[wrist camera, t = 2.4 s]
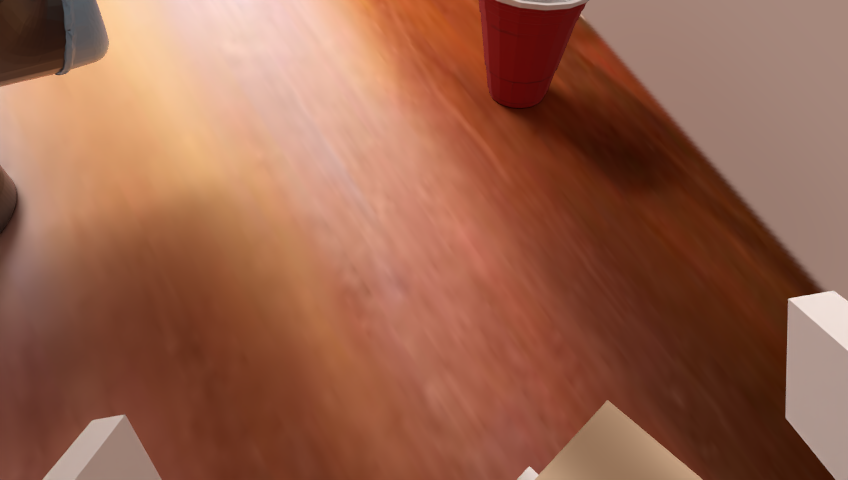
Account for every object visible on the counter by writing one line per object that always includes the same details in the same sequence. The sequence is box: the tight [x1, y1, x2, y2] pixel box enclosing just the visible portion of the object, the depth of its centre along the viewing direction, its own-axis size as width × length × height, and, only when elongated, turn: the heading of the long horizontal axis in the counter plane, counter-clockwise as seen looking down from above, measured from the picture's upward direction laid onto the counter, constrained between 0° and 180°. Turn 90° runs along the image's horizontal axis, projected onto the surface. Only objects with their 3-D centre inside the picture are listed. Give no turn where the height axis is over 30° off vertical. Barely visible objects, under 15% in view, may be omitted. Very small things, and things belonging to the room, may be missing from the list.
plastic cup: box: [479, 0, 588, 108], centre depth 53 cm, size 11×11×12 cm
